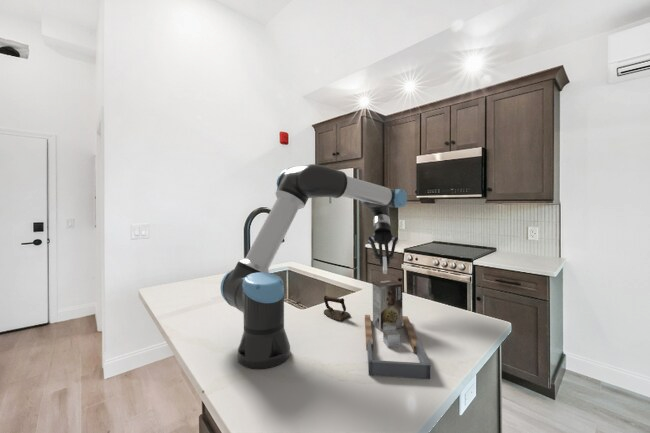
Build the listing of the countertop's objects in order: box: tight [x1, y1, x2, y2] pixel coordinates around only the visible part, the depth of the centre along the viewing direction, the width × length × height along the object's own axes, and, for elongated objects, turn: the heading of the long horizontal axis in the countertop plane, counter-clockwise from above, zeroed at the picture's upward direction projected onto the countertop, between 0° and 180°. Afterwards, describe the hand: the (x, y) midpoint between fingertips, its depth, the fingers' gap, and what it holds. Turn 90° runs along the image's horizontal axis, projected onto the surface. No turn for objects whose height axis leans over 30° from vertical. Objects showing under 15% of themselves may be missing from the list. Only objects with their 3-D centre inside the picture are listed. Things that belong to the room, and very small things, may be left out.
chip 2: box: [382, 329, 401, 349], centre depth 95 cm, size 4×4×4 cm
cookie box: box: [372, 279, 404, 332], centre depth 108 cm, size 9×6×16 cm
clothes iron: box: [323, 295, 351, 323], centre depth 118 cm, size 7×11×10 cm, turn 52°
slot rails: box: [364, 314, 419, 354], centre depth 102 cm, size 24×16×2 cm, turn 174°
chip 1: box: [383, 322, 397, 331], centre depth 101 cm, size 4×4×4 cm
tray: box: [366, 339, 431, 380], centre depth 83 cm, size 13×16×4 cm
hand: (385, 272), depth 119 cm, fingers closed
